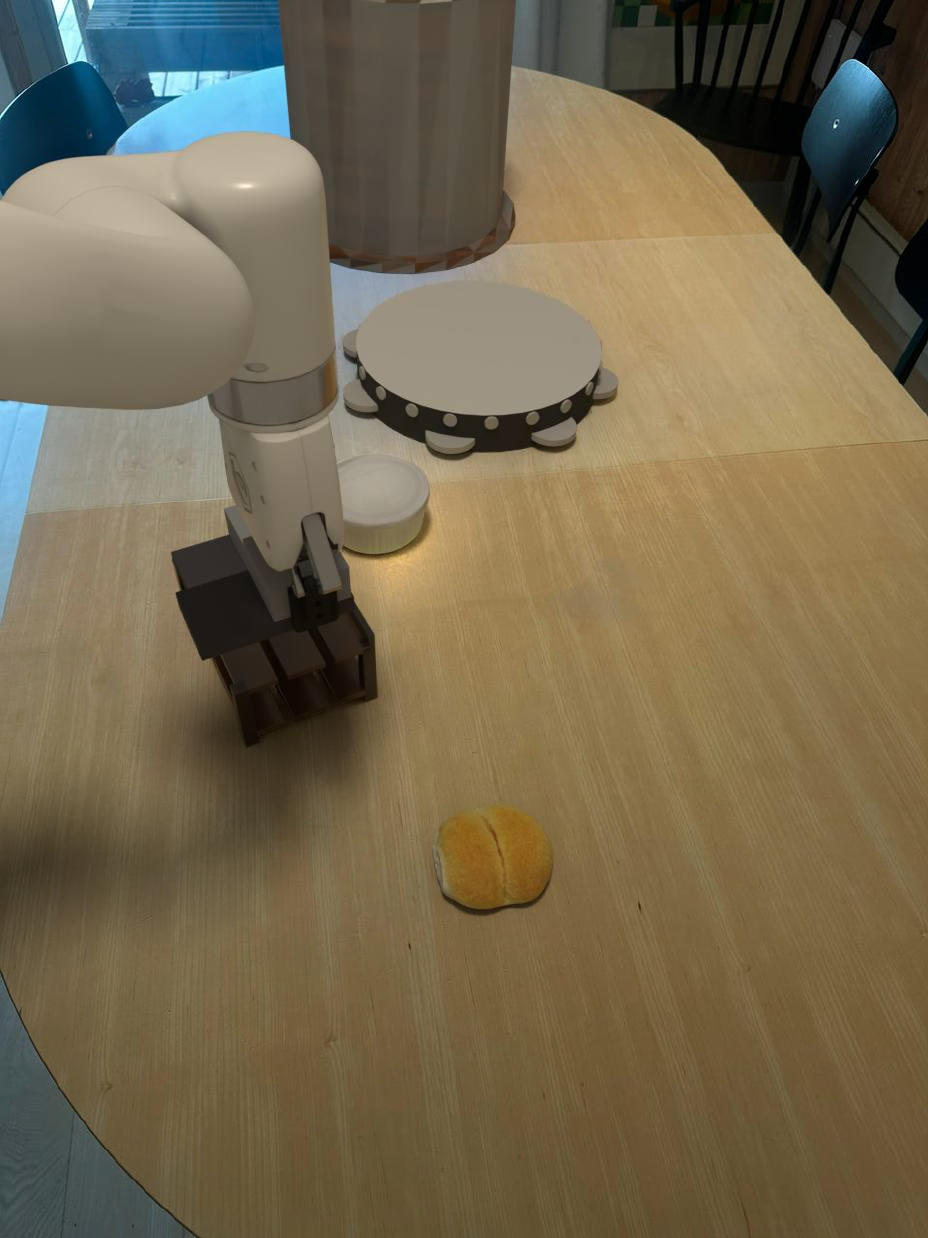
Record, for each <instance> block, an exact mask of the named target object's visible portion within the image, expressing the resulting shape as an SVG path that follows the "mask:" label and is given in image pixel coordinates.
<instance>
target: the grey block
mask: <svg viewBox="0 0 928 1238" xmlns="http://www.w3.org/2000/svg"><path fill="white" fill-rule="evenodd" d="M223 511H224V516H225V517H224V518H225V522H226V527H227V533H228V534H225V535H222V536H219V537H216V538H215V537H214V538H212V539H209V540H205V541H203V542H199V543H196V544H193V545H189V546H186V547H183V548H179V549H176V550H172V551H171V552H170V555H171V560H172V559H173V563H174V565H175V567H176V570H177V572H178V574H179V576H180V578H181V580H182V583H183V585H184V587H185V589H188V588H191V587H195V586H198V585H201V584H204V583H208V582H211V581H214V580H217V579H221V578H224V577H227V576H230V575H234V574H237V573H240V572H243V571H247V570H248V568H247V562H246V556H245V551H244V545H243V538H247V537H250V536H252V535H251V533H250V531H249V529H248V528H247V526H246V524H245V522H244V520H243V518H242V516H241V514H240V512H239V510H238V508H237V506H236V504H234V505H232V506H228V507H224V508H223ZM173 563H172V564H173Z"/></svg>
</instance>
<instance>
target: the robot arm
mask: <svg viewBox="0 0 928 1238" xmlns="http://www.w3.org/2000/svg"><path fill="white" fill-rule="evenodd" d="M335 329H336V328H335V316H334V300H333V287H332V273H331V262H330V257H329V242H328V228H327V214H326V200H325V190H324V181H323V176H322V173H321V169H320V167H319V165H318V163H317V161H316V160H315V158H314V157H313V155H312V154H311V153H310V152H309V151H308V150H307V149H306V148H305V147H303V146H302V145H300V144H299V143H297V142H295V141H294V140H292V139H290V137H287V136H283V135H281V134H277V133H270V132H265V131H254V130H253V131H249V130H248V131H247V130H243V131H242V130H241V131H240V130H239V131H229V132H221V133H217V134H212V135H209V136H206V137H202V138H199V139H198V140H195V141H193V142H192V143H189V144H188V145H186V146H185V147H183V148H182V149H177V150H168V151H159V152H157V151H156V152H146V153H130V154H129V153H128V154H107V155H92V156H91V155H90V156H76V157H69V158H63V159H57V160H54V161H49V162H46V163H44V164H42V165H39V166H37V167H35V168H33V169H31V170H29V171H27V172H25V173H24V174H22V175H21V176H19V177H18V178H17V179H16V180H14V182H13V183H12V184H11V185H10V186H9V188H7V190H6V191H5V193H4V195H3V196H2V197H1V199H0V400H5V401H11V402H15V403H16V402H17V403H24V404H29V405H31V404H32V405H39V406H49V407H50V406H51V407H67V408H68V407H69V408H80V409H81V408H82V409H101V410H102V409H103V410H121V411H123V410H124V411H125V410H126V411H139V410H143V411H144V410H145V411H146V410H160V409H166V408H173V407H179V406H184V405H187V404H190V403H193V402H196V401H199V400H201V399H203V398H205V397H207V402H208V403H207V404H208V407H209V409H210V411H211V412H212V414H213V415H214V416H215V417H216V418H217V419H218V423H219V430H220V437H221V446H222V453H223V461H224V469H225V476H226V482H227V487H228V489H229V492H230V495H231V498H232V500H233V502H234V505H236V506H237V508H238V510H239V512H240V514H241V516H242V518H243V520H244V522H245V524H246V526H247V528H248V529H249V531H250V533H251V535H252V537H253V539H254V541H255V543H256V544H257V546H258V548H259V550H260V552H261V554H262V555H263V557H264V559H265V561H266V562H267V564H268V565H269V566H270V567H271V568H273V569H275V570H277V571H279V572H281V571H283V570H286V569H288V572H289V576H290V580H291V584H292V587H290V588H287V591H288V598H289V605H290V612H291V619H292V626H293V628H294V630H295V632H297V633H301V632H304V631H307V630H310V629H313V628H316V627H319V626H322V625H325V624H328V623H331V622H334V621H336V620H337V619H338V618H339V609H338V598H337V590H340V589H342V584H341V580H340V577H339V574H338V570H337V567H336V564H335V561H334V558H333V554H332V552H335V553H336V554H338V553H339V552H341V551H342V549H343V547H344V545H343V543H344V521H343V509H342V499H341V490H340V483H339V475H338V468H337V462H338V461H337V455H336V445H335V442H334V437H333V432H332V431H333V430H332V426H331V421H330V415H329V414H330V413H331V412H332V411H333V410H334V409H335V407H336V406H337V403H338V401H339V397H340V386H339V374H338V373H339V371H338V359H337V344H336V331H335ZM303 540H304V544H305V545H303ZM331 550H332V551H331ZM309 559H310V563H311V566H312V569H313V574H312V575H309V576H306V577H303V578H302V576H301V572H300V567H299V562H303V561H306V560H309Z"/></svg>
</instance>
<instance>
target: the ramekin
mask: <svg viewBox="0 0 928 1238" xmlns="http://www.w3.org/2000/svg"><path fill="white" fill-rule="evenodd" d="M337 468H338V475H339V483H340V490H341V499H342V509H343V521H344V543H343V547H345V548H347V549H349V550H351V551H354V552H356V553H361V554H366V555H381V554H390V553H392V552H396V551H398V550H400V549H403V548H404V547H405V546H407V545H409V544H410V543H412V541H413V540H414V539H415V538H416V537H417V536H418V534H419V533H420V531H421V529H422V527H423V523H424V517H425V512H426V507H427V506H428V503H429V501H430V495H431V489H430V483H429V479H428V477H427V475H426V473H425V472H424V471H423V470H422V469H421V468H420V467H419V465H417V464H416V463H415V462H413V461H411V460H409V459H407V458H405V457H402V456H400V455H396V454H392V453H386V452H364V453H358V454H353V455H350V456H347V457H345V458H342V459H340V460H338V461H337Z"/></svg>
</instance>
